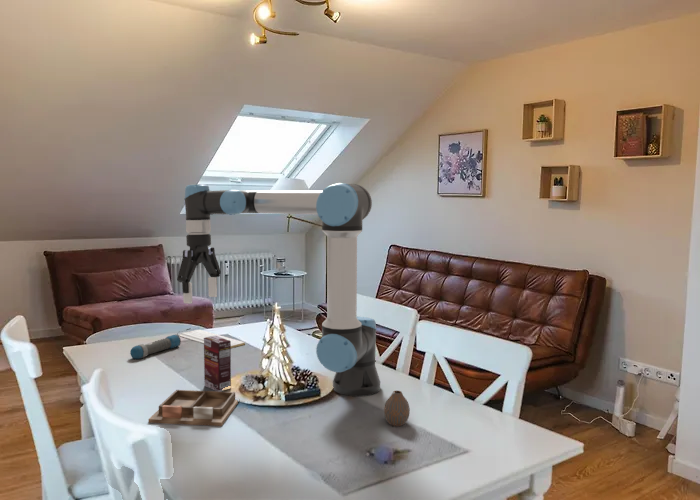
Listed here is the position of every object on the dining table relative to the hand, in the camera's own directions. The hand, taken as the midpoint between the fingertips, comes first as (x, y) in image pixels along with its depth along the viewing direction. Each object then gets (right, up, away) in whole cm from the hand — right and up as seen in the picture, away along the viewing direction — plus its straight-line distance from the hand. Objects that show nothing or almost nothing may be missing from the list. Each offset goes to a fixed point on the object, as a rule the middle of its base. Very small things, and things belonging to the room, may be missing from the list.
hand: (200, 300), depth 185 cm
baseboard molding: (-10, -22, +54) cm, 60 cm away
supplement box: (+6, -28, -2) cm, 28 cm away
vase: (+60, -31, -27) cm, 73 cm away
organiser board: (+4, -30, -22) cm, 37 cm away
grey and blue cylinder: (-26, -24, +36) cm, 50 cm away
